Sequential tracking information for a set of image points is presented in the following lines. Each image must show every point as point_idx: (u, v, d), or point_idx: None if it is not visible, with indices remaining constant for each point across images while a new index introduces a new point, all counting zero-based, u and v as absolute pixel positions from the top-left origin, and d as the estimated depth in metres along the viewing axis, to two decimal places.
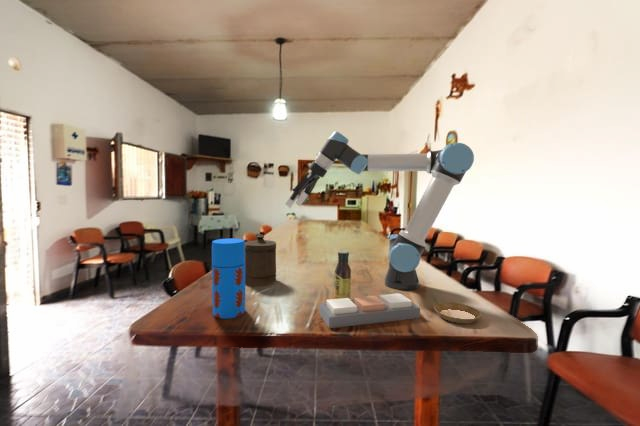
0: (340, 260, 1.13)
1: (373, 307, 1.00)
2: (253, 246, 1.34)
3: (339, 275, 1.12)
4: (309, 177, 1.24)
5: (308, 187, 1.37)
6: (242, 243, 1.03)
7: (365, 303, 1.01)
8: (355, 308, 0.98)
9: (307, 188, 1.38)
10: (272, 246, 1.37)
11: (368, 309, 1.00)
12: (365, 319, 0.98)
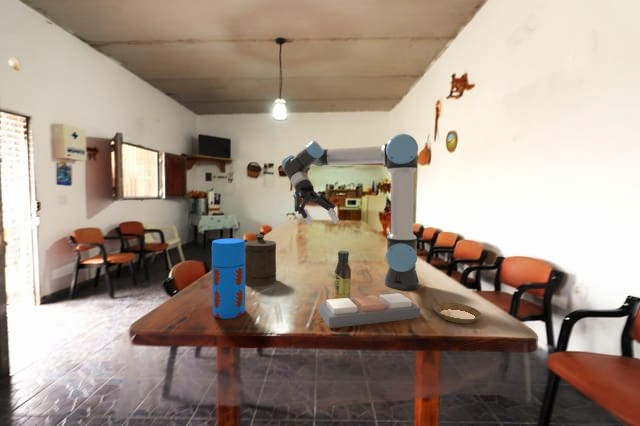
0: (340, 260, 1.13)
1: (373, 307, 1.00)
2: (253, 246, 1.33)
3: (339, 275, 1.12)
4: (295, 194, 1.24)
5: (322, 204, 1.29)
6: (242, 243, 1.03)
7: (365, 303, 1.01)
8: (355, 308, 0.98)
9: (324, 206, 1.29)
10: (272, 246, 1.37)
11: (368, 309, 1.00)
12: (365, 319, 0.98)
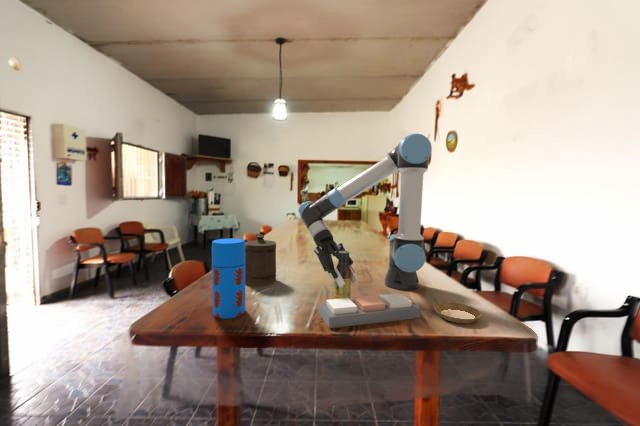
0: (340, 260, 1.13)
1: (373, 307, 1.00)
2: (253, 246, 1.33)
3: None
4: (318, 250, 1.15)
5: None
6: (242, 243, 1.02)
7: (365, 303, 1.01)
8: (355, 308, 0.98)
9: None
10: (272, 246, 1.37)
11: (368, 309, 1.00)
12: (365, 319, 0.98)
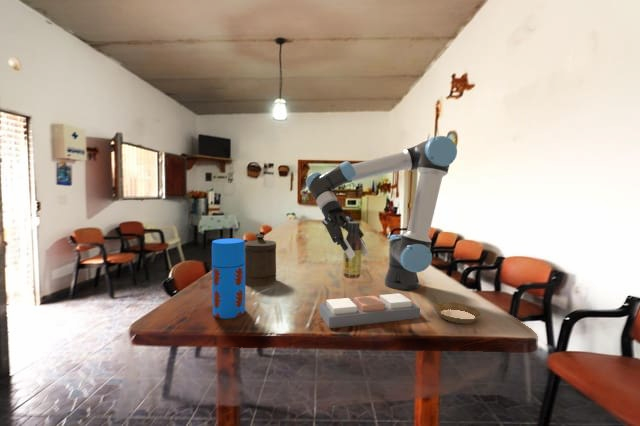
0: (350, 231, 1.06)
1: (373, 307, 1.00)
2: (253, 246, 1.33)
3: None
4: (326, 221, 1.09)
5: None
6: (242, 243, 1.03)
7: (365, 303, 1.01)
8: (355, 308, 0.98)
9: None
10: (272, 246, 1.37)
11: (368, 309, 1.00)
12: (365, 319, 0.98)
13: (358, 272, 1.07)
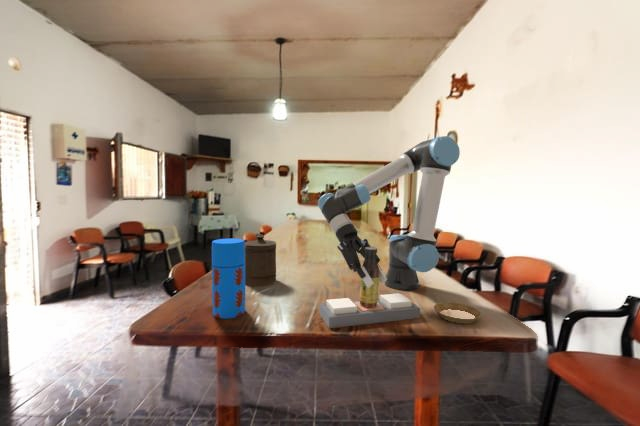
0: (368, 257, 1.01)
1: None
2: (253, 246, 1.33)
3: None
4: (342, 246, 1.04)
5: None
6: (242, 243, 1.03)
7: (365, 308, 1.01)
8: (355, 308, 0.98)
9: None
10: (272, 246, 1.37)
11: None
12: (365, 319, 0.98)
13: (376, 300, 1.02)
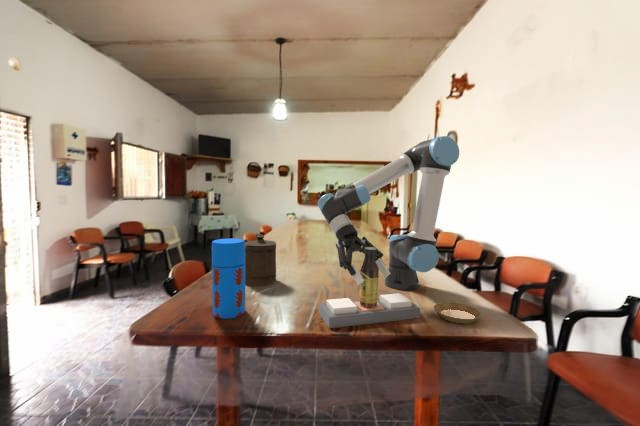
0: (367, 257, 1.01)
1: None
2: (253, 246, 1.33)
3: (366, 274, 1.00)
4: (339, 244, 1.04)
5: None
6: (242, 243, 1.03)
7: (365, 308, 1.01)
8: (355, 308, 0.98)
9: None
10: (272, 246, 1.37)
11: None
12: (365, 319, 0.98)
13: (376, 300, 1.02)
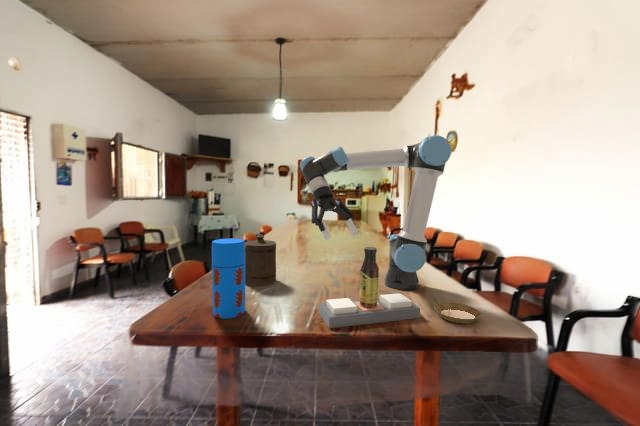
0: (367, 257, 1.01)
1: None
2: (253, 246, 1.33)
3: (366, 274, 1.00)
4: (313, 203, 1.15)
5: (341, 213, 1.21)
6: (242, 243, 1.03)
7: (365, 308, 1.01)
8: (355, 308, 0.98)
9: (342, 215, 1.21)
10: (272, 246, 1.37)
11: None
12: (365, 319, 0.98)
13: (376, 300, 1.02)
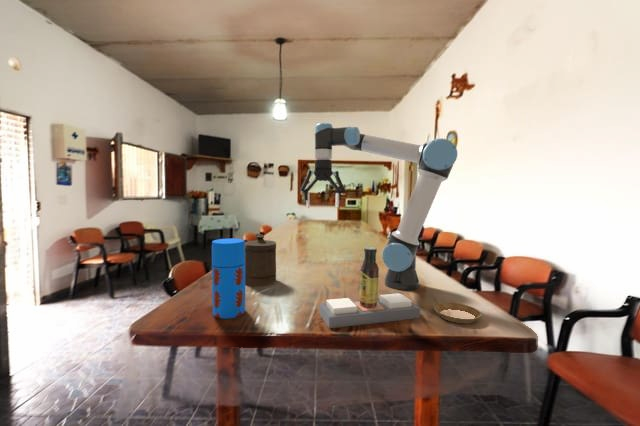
0: (367, 257, 1.01)
1: None
2: (253, 246, 1.33)
3: (366, 274, 1.00)
4: (308, 173, 1.33)
5: (333, 186, 1.37)
6: (242, 243, 1.03)
7: (365, 308, 1.01)
8: (355, 308, 0.98)
9: (334, 187, 1.38)
10: (272, 246, 1.37)
11: None
12: (365, 319, 0.98)
13: (376, 300, 1.02)
